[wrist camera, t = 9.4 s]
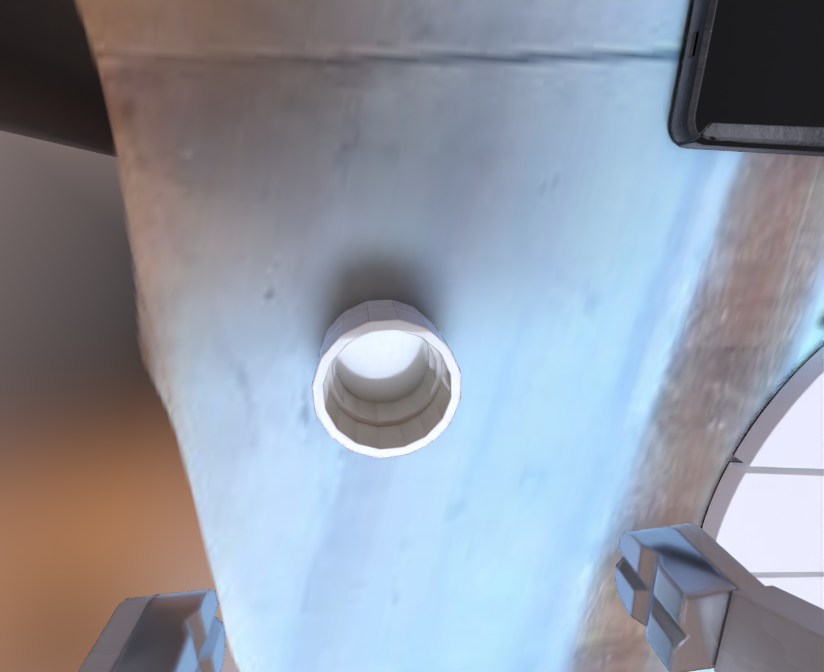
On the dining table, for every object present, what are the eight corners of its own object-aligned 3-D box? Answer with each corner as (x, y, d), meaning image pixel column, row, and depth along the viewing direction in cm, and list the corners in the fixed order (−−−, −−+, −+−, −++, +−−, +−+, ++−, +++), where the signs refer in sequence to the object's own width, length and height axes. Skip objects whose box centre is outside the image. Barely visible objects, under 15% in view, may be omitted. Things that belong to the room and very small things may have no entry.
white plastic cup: (327, 415, 22) (320, 464, 18) (315, 301, 20) (304, 325, 16) (441, 404, 23) (461, 449, 18) (439, 294, 21) (460, 315, 17)
